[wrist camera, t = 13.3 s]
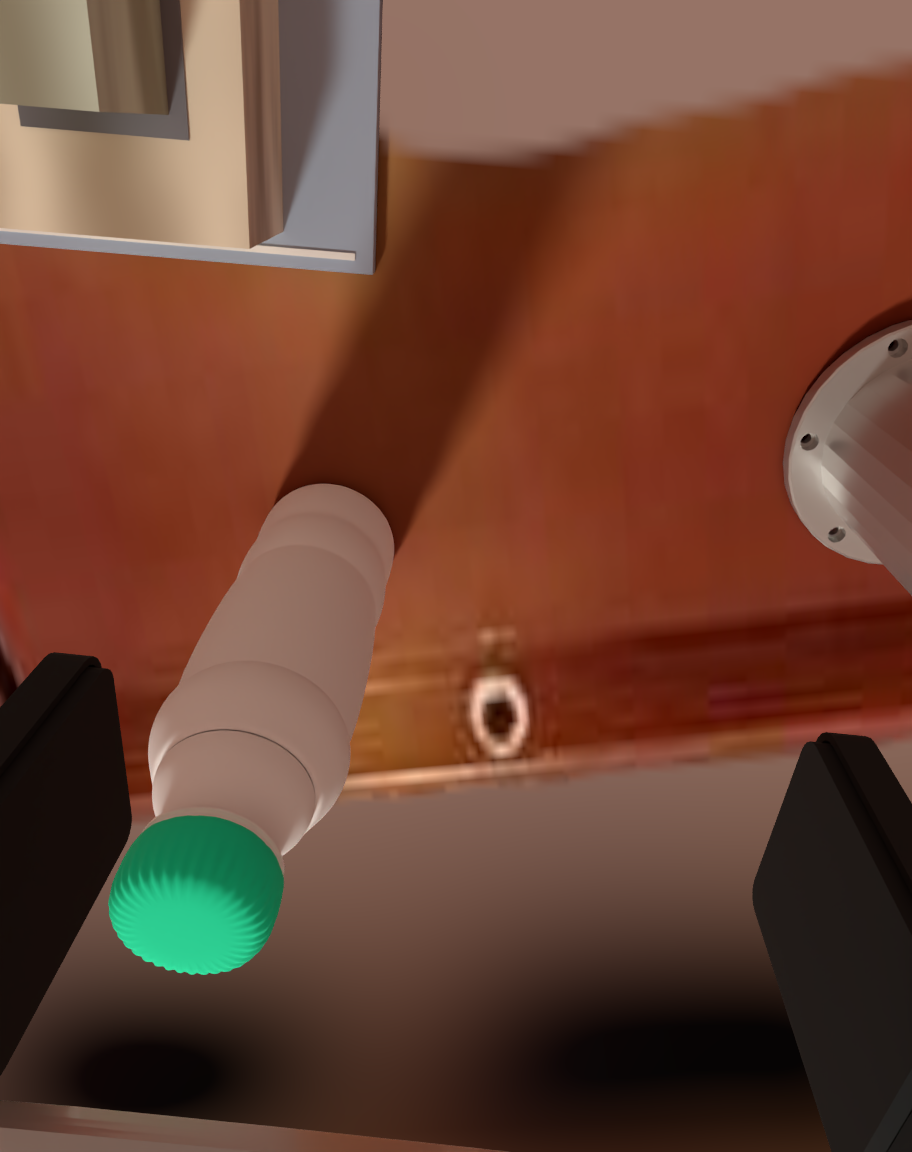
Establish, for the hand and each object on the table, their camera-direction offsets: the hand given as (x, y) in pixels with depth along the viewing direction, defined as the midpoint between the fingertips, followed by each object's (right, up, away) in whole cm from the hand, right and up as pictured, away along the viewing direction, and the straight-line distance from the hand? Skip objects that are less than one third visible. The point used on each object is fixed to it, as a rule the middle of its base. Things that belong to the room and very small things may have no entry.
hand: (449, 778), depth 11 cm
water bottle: (-7, +5, +34) cm, 35 cm away
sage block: (-12, +21, +17) cm, 30 cm away
